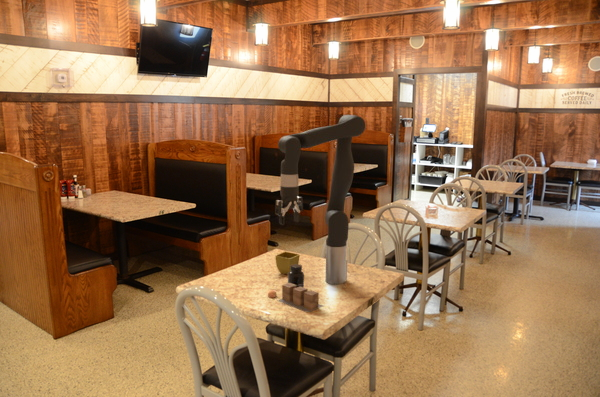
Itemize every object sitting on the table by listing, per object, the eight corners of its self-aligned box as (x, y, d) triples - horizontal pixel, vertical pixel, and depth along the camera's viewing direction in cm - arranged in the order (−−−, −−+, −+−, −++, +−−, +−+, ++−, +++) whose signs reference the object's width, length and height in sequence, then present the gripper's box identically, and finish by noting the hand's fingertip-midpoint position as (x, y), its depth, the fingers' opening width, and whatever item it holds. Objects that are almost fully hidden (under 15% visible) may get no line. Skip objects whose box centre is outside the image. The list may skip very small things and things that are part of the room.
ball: (272, 296, 203) (272, 288, 202) (278, 298, 200) (278, 290, 199) (265, 298, 200) (265, 290, 199) (271, 301, 198) (271, 292, 197)
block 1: (289, 296, 199) (289, 282, 198) (296, 299, 197) (296, 285, 196) (282, 299, 196) (282, 285, 195) (289, 301, 194) (289, 287, 193)
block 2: (310, 304, 191) (311, 290, 190) (318, 307, 188) (318, 292, 187) (303, 307, 188) (304, 292, 187) (311, 310, 186) (311, 295, 185)
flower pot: (300, 272, 234) (300, 254, 233) (290, 277, 227) (290, 258, 225) (285, 268, 239) (285, 251, 237) (274, 273, 232) (274, 255, 230)
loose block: (300, 300, 195) (300, 286, 194) (307, 303, 192) (307, 288, 191) (293, 303, 192) (293, 288, 191) (300, 306, 190) (300, 291, 189)
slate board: (292, 297, 202) (292, 294, 201) (323, 308, 190) (323, 305, 190) (277, 303, 195) (277, 300, 195) (308, 315, 184) (308, 312, 183)
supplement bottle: (298, 296, 203) (298, 269, 201) (284, 293, 206) (284, 266, 204) (306, 291, 208) (307, 264, 206) (293, 288, 212) (293, 262, 210)
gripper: (283, 187, 193) (283, 227, 196) (307, 184, 203) (307, 221, 206) (270, 185, 198) (270, 224, 201) (294, 182, 208) (294, 219, 211)
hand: (289, 223), depth 203 cm, fingers open, 8 cm apart
